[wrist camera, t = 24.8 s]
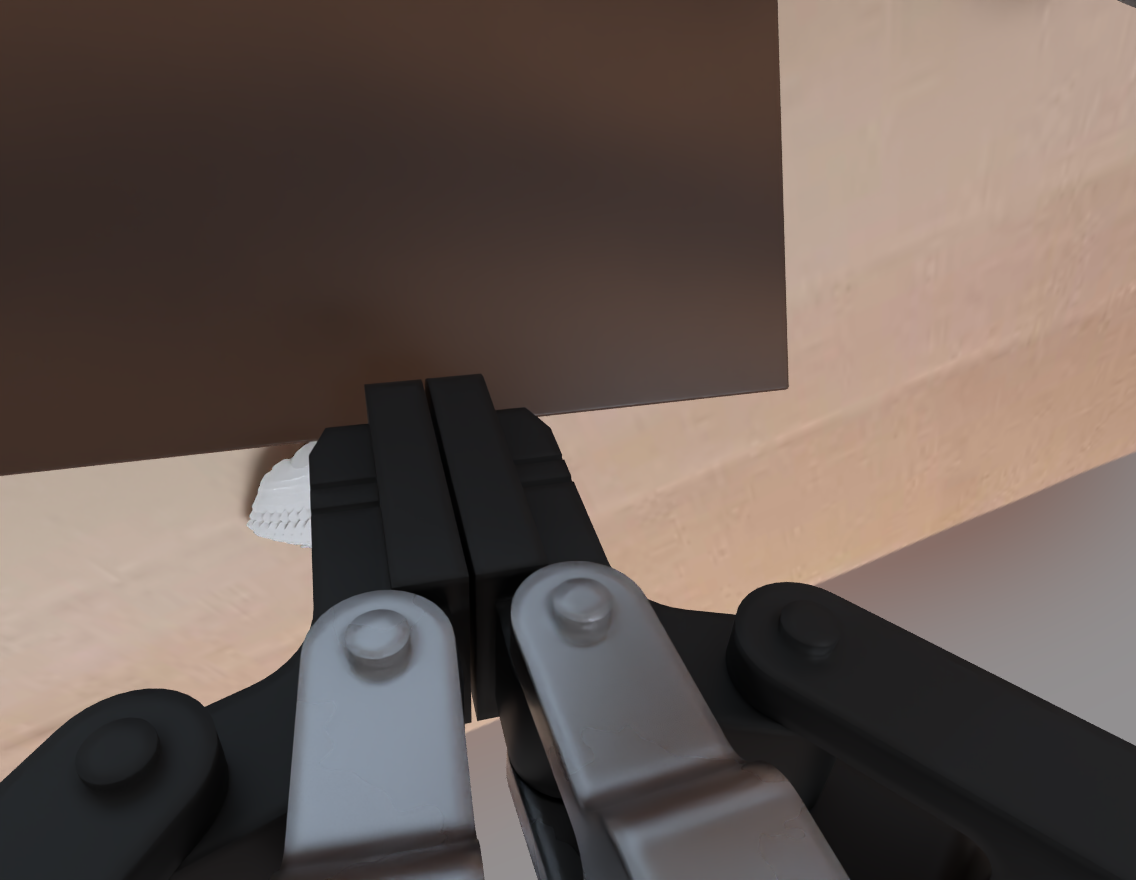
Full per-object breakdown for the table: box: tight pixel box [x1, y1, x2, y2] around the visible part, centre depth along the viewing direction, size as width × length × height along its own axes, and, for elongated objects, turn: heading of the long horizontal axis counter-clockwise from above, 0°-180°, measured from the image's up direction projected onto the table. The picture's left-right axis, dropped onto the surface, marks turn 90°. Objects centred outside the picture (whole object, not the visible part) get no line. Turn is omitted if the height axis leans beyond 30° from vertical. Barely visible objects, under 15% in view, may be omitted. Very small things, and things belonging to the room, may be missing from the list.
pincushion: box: [247, 441, 317, 548], centre depth 29 cm, size 12×6×6 cm, turn 112°
